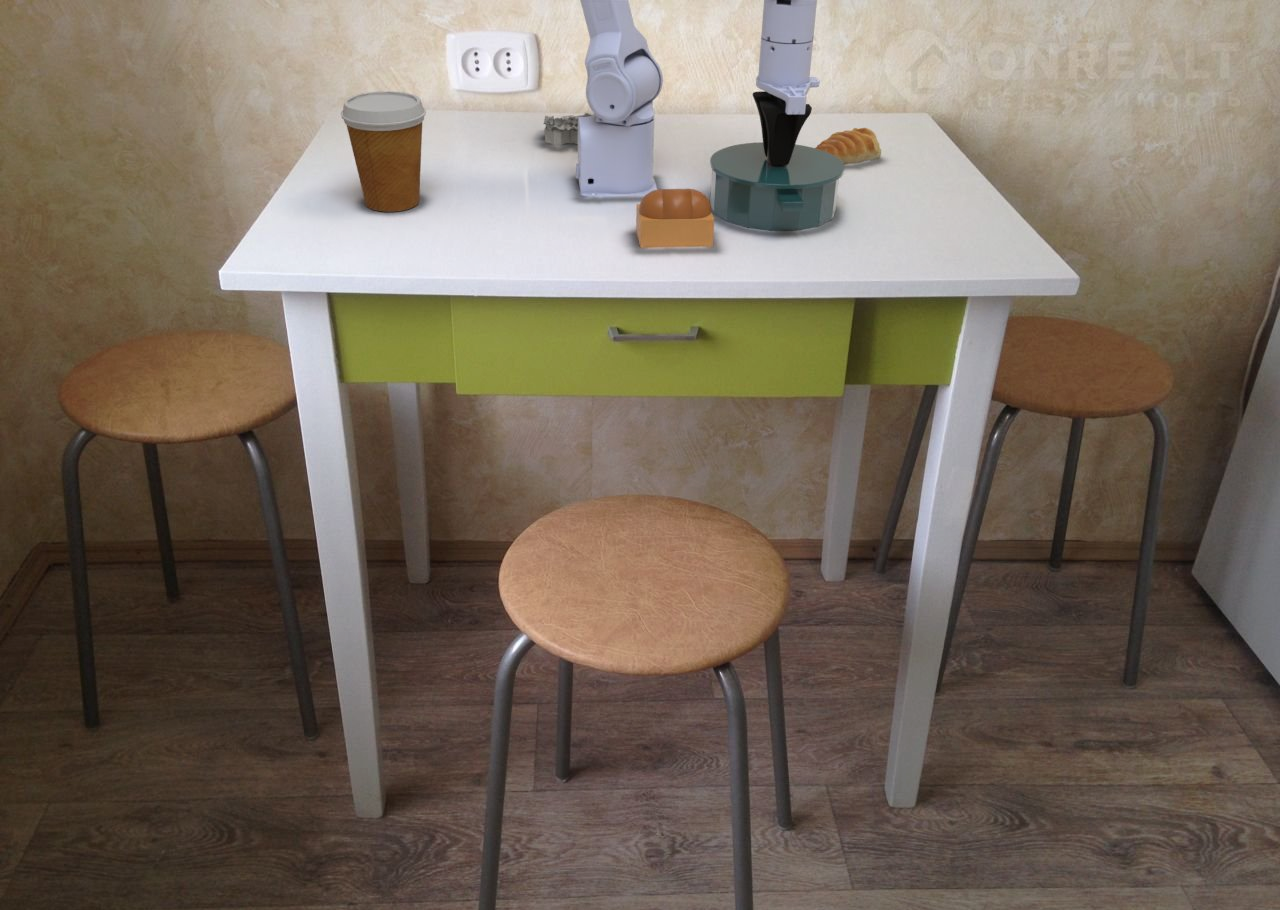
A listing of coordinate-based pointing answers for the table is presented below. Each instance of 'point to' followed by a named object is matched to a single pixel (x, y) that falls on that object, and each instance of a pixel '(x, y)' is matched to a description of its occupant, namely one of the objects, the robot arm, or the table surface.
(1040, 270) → the table surface
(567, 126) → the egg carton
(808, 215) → the pot
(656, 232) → the bread
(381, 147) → the disposable coffee cup
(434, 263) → the table surface
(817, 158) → the lid
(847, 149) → the pastry
